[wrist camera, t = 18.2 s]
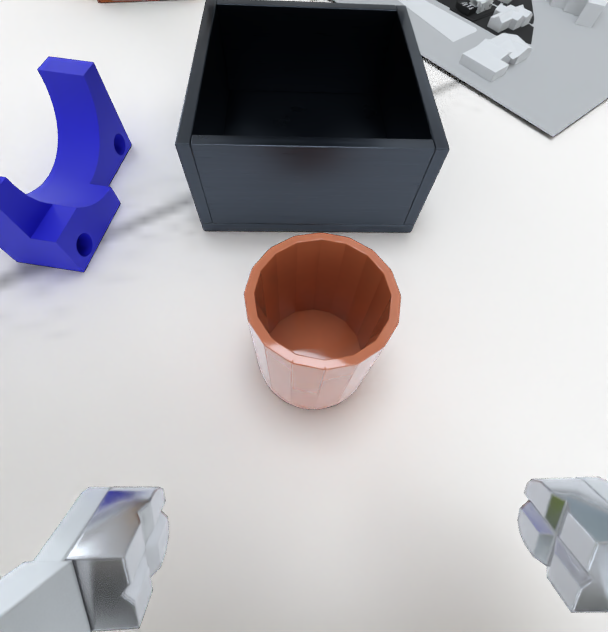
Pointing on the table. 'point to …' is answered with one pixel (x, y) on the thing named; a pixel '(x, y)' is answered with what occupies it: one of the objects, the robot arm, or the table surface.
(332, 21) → the dark grey open box
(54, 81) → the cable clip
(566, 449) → the table surface
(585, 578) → the robot arm
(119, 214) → the table surface
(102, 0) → the milk carton
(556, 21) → the architectural model
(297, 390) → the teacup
